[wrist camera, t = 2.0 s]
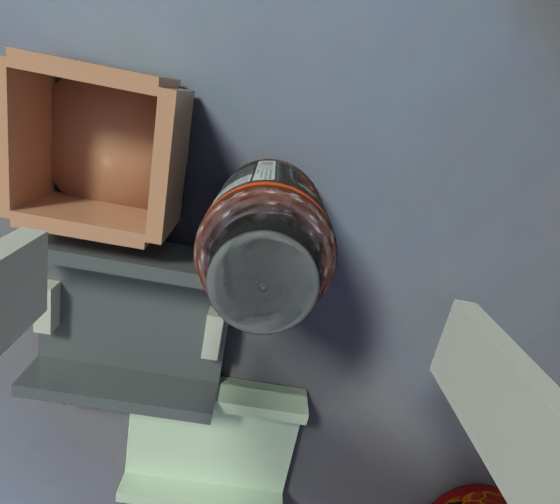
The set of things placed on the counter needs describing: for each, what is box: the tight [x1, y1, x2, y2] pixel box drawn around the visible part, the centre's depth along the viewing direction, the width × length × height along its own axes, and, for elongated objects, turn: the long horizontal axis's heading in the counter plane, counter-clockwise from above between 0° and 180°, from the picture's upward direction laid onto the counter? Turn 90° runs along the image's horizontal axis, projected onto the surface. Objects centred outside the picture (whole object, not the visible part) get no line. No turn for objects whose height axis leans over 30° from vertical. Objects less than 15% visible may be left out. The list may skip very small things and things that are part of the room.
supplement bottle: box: [193, 159, 337, 335], centre depth 20 cm, size 6×6×11 cm
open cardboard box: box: [0, 46, 195, 250], centre depth 22 cm, size 8×8×5 cm
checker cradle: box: [12, 233, 229, 425], centre depth 26 cm, size 12×10×4 cm
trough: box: [116, 376, 309, 504], centre depth 30 cm, size 12×10×3 cm
